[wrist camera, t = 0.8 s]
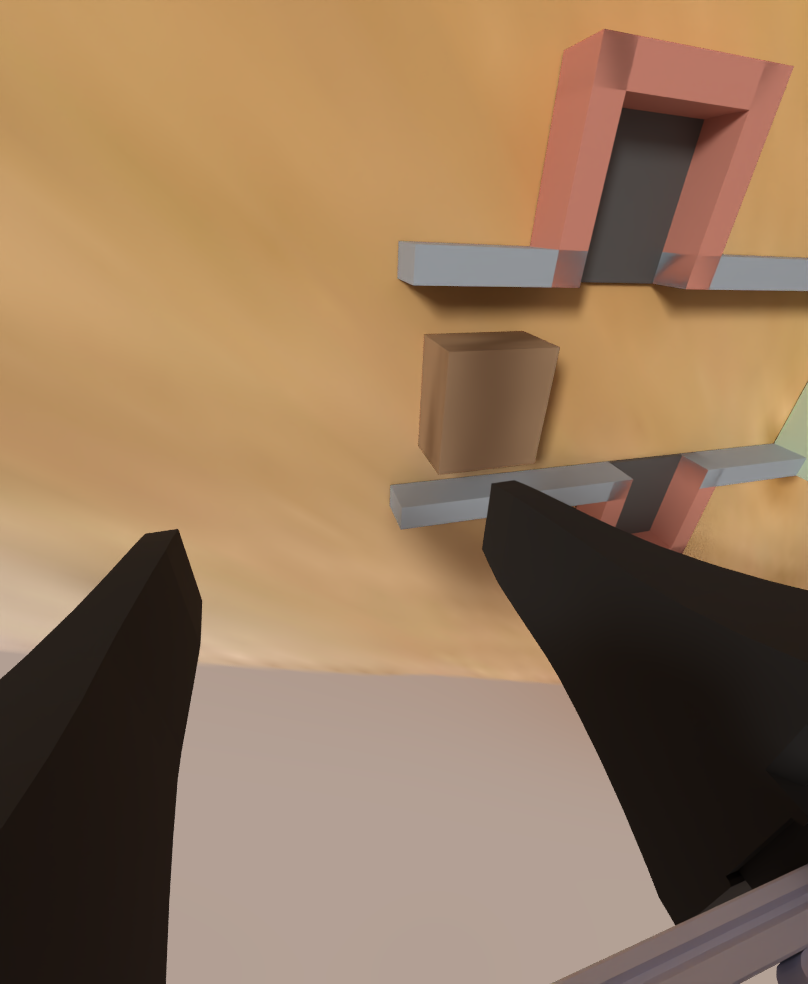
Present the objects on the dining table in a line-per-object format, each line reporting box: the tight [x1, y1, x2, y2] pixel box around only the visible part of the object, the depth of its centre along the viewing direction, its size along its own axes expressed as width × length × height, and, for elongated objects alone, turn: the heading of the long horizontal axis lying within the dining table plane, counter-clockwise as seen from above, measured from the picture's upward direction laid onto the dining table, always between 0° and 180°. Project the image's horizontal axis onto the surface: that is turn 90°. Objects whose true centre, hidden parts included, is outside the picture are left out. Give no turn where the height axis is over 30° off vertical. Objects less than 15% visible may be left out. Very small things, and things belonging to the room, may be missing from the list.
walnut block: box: [418, 331, 560, 475], centre depth 18 cm, size 4×5×3 cm
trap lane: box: [390, 29, 808, 554], centre depth 21 cm, size 26×22×3 cm
